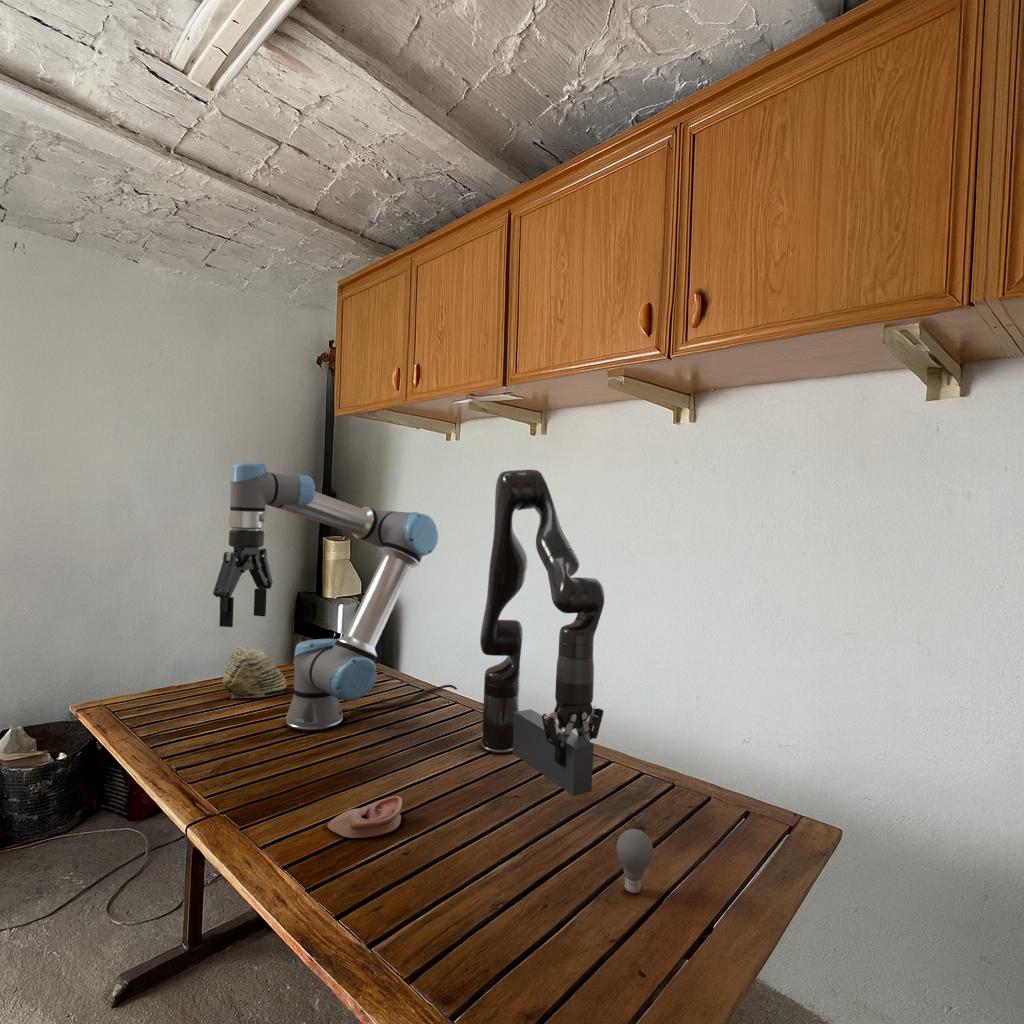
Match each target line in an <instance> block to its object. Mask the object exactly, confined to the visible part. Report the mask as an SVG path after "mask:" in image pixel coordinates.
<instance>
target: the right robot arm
mask: <svg viewBox="0 0 1024 1024" xmlns="http://www.w3.org/2000/svg"><path fill="white" fill-rule="evenodd" d="M533 509H534V510H535V511H536V512H537V514H538V516H539V523H538V528H537V531H536V536H535V547H536V551H537V554H538V556H539V558H540V560H541V562H542V565H543V567H544V568H545V570H546V572H547V578H548V583H549V589H550V597H551V601H552V603H553V605H554V607H555V608H556V609H557V610H558V611H559V612H561V613H563V614H567V615H569V614H576V617H575V618H574V620H573V621H571V622H569V623H566V624H564V625H562V626H561V627H560V629H559V633H558V654H557V660H556V672H555V674H556V675H555V692H554V694H555V695H554V698H555V702H556V705H555V707H554V710H553V712H551V713H549V714H547V713H543V714H541V715H542V720H543V725H544V730H545V735H546V740H547V742H549V743H551V744H552V745H554V746H555V761H556V762H557V764H559V765H560V766H565V757H566V748H565V746H566V742H567V739H568V737H569V736H570V735H571V732H573V730H576V734H577V735H578V736H580V737H581V738H583V739H585V740H587V741H588V742H590V743H591V740H592V739H594V740H596V739H597V738H598V735H599V731H600V728H601V724H602V719H603V716H604V710H603V708H600V707H598V706H595V705H592V703H593V701H594V687H595V686H594V684H595V663H594V662H595V659H594V658H595V657H594V654H595V635H596V633H597V629H598V627H599V623H600V620H601V616H602V614H603V610H604V607H605V603H606V602H605V601H606V593H605V589H604V586H603V585H602V583H601V581H600V580H599V579H598V578H596V577H591V576H584V577H583V576H581V577H573V576H574V575H576V573H577V572H578V571H579V569H580V565H581V563H580V559H579V557H578V555H577V553H576V552H575V550H574V548H573V546H572V544H571V542H570V540H569V538H568V537H567V535H566V533H565V530H564V529H563V527H562V524H561V520H560V517H559V515H558V511H557V508H556V505H555V502H554V500H553V497H552V494H551V491H550V488H549V484H548V483H547V481H546V479H545V477H544V475H543V474H542V472H540V471H539V470H537V469H516V470H505V471H501V472H500V474H498V477H497V480H496V483H495V496H494V525H493V538H492V546H491V553H490V560H489V569H488V581H487V582H488V583H487V595H486V602H485V608H484V613H483V618H482V624H481V628H480V629H481V630H480V636H479V637H480V638H479V645H480V650H481V652H482V653H483V654H484V655H485V656H490V657H496V656H497V657H506V658H505V659H504V660H503V661H501V662H499V663H498V664H495V665H493V666H489V667H488V668H487V669H486V670H485V671H484V678H483V679H484V680H483V703H482V705H483V706H482V727H481V731H480V733H481V734H480V735H481V743H480V748H481V749H482V750H484V751H485V752H487V753H491V754H499V755H500V754H501V755H502V754H510V753H513V729H514V712H517V711H520V710H519V707H520V688H521V687H520V686H521V668H522V654H523V647H524V646H523V644H524V626H523V624H522V622H521V621H520V620H518V619H500V616H501V614H502V612H503V611H504V609H505V608H506V607H507V606H508V604H509V603H511V601H513V600H514V599H515V597H516V596H517V595H518V594H519V593H520V592H521V591H522V589H523V587H524V585H525V584H526V580H527V574H528V566H529V556H528V552H527V550H526V548H525V546H524V545H523V542H522V541H521V539H520V538H519V536H518V535H517V532H516V530H515V527H514V514H515V511H525V510H533ZM556 724H557V726H556V728H555V725H556ZM563 727H564V728H565V730H564V729H563Z"/></svg>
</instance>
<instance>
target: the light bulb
mask: <svg viewBox="0 0 1024 1024" xmlns="http://www.w3.org/2000/svg"><path fill="white" fill-rule="evenodd" d="M615 849H616V854H617V857H618V859H619V861H620V863H621V865H622V867H623V873H624V874H623V875H624V876H625V878H624V888H625V890H627V891H628V892H630V893H634V894H635V893H639V892H640V891H641V889H642V887H641V886H642V879H643V877H644V875H645V871H646V868H647V867H648V866H649V864H650V863H651V861H652V859H653V855H654V847H653V843H652V841H651V838H649V836H648V835H647V834H646V833H645V832H643V831H642V830H641V829H636V828H629V829H627V830H625V831H623V832H622V833H621V834H620V835H619V837H618V839H617V841H616V847H615Z"/></svg>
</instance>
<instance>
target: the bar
mask: <svg viewBox="0 0 1024 1024" xmlns="http://www.w3.org/2000/svg"><path fill="white" fill-rule="evenodd" d="M542 715H543V714H541V713H538V712H537V711H535V710H533V709H524V710H519V711H517V712H514V729H513V752H512V754H514V755H515V756H516V757H517V758H519V759H520V760H521V761H523V762H524V763H526V764H527V765H528V766H530V767H531V768H533V769H534V770H536V771H537V772H539V774H542V775H543V776H544V777H545V778H547V779H549V780H550V781H551V782H552V783H554V784H555V785H557V786H558V787H560V788H561V789H562V790H564V791H566V792H567V793H569V794H570V795H571V796H572V797H575V796H579V795H583V794H587V793H590V792H593V791H592V789H593V768H594V746H595V745H594V743H592V742H591V741H590V742H588V741H587V740H585V739H583V738H581V737H580V736H578V734H577V733H574V732H573V731H571V735H570V736H569V737H568V739H567V742H566V746H565V748H566V757H565V766H560V765H559V764H557V762H556V761H555V746H554V745H552V744H551V743H549V742H547V740H546V735H545V730H544V725H543V720H542ZM556 726H557V724H556V725H555V728H556ZM563 729H564V730H565V728H564V727H563Z"/></svg>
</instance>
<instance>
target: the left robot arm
mask: <svg viewBox="0 0 1024 1024" xmlns="http://www.w3.org/2000/svg"><path fill="white" fill-rule="evenodd" d="M267 467H268V466H267V465H266V464H265V463H261V462H260V463H259V462H245V461H244V462H242V461H238V462H234V463H233V464H232V467H231V472H230V480H229V483H230V500H229V501H230V502H229V503H230V504H229V506H230V507H229V519H228V520H229V521H228V527H229V528H231V529H230V530H229V531H228V545H229V547H232V548H233V550H232V551H224V552H223V557H222V558H223V559H222V564H221V567H220V569H219V573H218V576H217V579H216V583H215V585H214V589H213V591H212V594H213V596H215V597H216V598H219V625H218V626H219V627H223V628H233V627H234V604H235V603H234V602H235V601H234V600H235V598H234V596H232V595H233V593H234V592H235V589H236V587H237V585H238V582H239V581H240V580H241V576H242V574H244V573H245V572H246V571H249V573H250V575H251V578H252V580H253V583H254V584H255V586H256V588H254V592H253V593H254V594H253V595H254V596H253V600H254V601H253V616H254V617H266V616H267V615H266V614H267V590H268V589H269V590H270V589H272V586H273V583H274V582H273V578H272V577H273V576H272V574H271V569H270V565H269V562H268V561H269V560H268V553H267V552H268V551H267V548H264V547H263V546H264V545H265V531H264V530H262V529H265V520H266V516H265V513H266V506H269V507H272V508H276V509H279V510H282V511H286V512H288V513H291V514H294V515H297V516H300V517H303V518H306V519H309V520H312V521H315V522H318V523H321V524H324V525H327V526H330V527H333V528H337V529H339V530H342V531H345V532H348V533H351V534H352V535H353V537H354V538H356V539H359V540H361V541H364V542H366V543H369V544H370V545H373V546H375V547H379V548H380V551H381V553H382V557H381V560H380V562H379V564H378V566H377V567H376V570H375V572H374V574H373V576H372V578H371V581H370V582H369V585H368V587H367V589H366V591H365V593H364V595H363V597H362V599H361V602H359V603H360V604H359V606H358V607H357V610H356V612H355V614H354V616H353V618H352V620H351V622H350V624H349V627H348V628H347V631H346V632H345V635H343V636H341V637H339V638H318V639H308V640H304V641H300V642H299V643H297V644H296V646H295V650H294V655H293V657H294V672H293V673H294V674H293V695H292V696H293V697H292V699H291V702H290V704H289V708H288V711H287V713H286V715H285V726H286V728H287V729H289V730H291V731H294V732H295V731H296V732H301V733H316V732H325V731H329V730H332V729H335V728H337V727H339V726H340V725H342V723H343V722H344V714H343V713H346V712H365V711H373V710H380V709H387V708H392V707H397V706H400V705H404V704H407V703H411V702H412V701H414V700H416V699H417V698H420V697H421V696H423V695H425V694H427V693H431V692H434V691H438V690H442V689H445V688H452V689H454V690H458V687H457V686H455V685H453V684H444V685H440V686H436V687H433V688H429V689H426V690H424V691H422V692H420V693H418V694H416V695H414V696H413V697H411V698H408V699H406V700H402V701H399V702H394V703H390V704H385V705H377V706H369V707H359V708H358V707H357V708H355V707H354V708H342V706H341V702H340V700H343V701H347V702H353V701H354V702H355V701H357V700H359V699H361V698H363V697H365V696H366V695H367V694H368V693H369V692H370V691H371V690H372V688H373V687H374V685H375V683H376V681H377V675H378V672H377V666H376V665H375V662H376V661H377V660H376V659H377V658H378V654H377V651H376V646H377V644H378V642H379V640H380V638H381V636H382V633H383V631H384V629H385V627H386V624H387V622H388V620H389V618H390V615H391V614H392V612H393V610H394V607H395V605H396V603H397V600H398V598H399V597H400V594H401V592H402V589H403V588H404V585H405V582H406V581H407V579H408V576H409V575H410V572H411V570H412V569H414V568H416V567H418V566H419V565H420V563H421V561H422V559H423V557H424V556H425V557H426V556H427V555H429V554H431V553H433V552H434V550H435V549H436V548H437V545H438V541H439V530H438V529H437V525H436V523H435V521H434V520H433V518H431V517H430V516H429V515H427V514H425V513H420V512H405V511H397V510H396V511H395V510H381V509H375V508H372V507H368V506H363V507H359V506H356V505H353V504H350V503H348V502H345V501H343V500H339V499H337V498H334V497H331V496H329V495H326V494H323V493H320V492H317V491H316V485H315V481H314V479H313V478H312V477H311V476H310V475H306V474H300V473H281V472H280V473H279V472H269V471H268V468H267ZM262 547H263V548H262Z"/></svg>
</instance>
